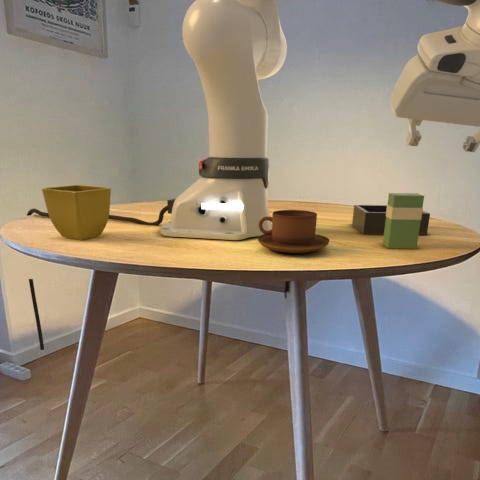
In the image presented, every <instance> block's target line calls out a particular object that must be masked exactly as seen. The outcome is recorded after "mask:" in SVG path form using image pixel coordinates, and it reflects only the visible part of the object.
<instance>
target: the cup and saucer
mask: <svg viewBox="0 0 480 480" xmlns="http://www.w3.org/2000/svg"><path fill="white" fill-rule="evenodd" d="M271 215H272V216H270V215H269V216H270V217H269V216H266V217H263V218H261V220H260V221H259V229H260V231H261V232H262V233H264V234H263V235H260V236H257V241H258V243H259V244H260V245H261V246H262V247H264V248H266V249H268V250H271V251H274V252H280V253H285V254H286V253H287V254H304V253H305V254H306V253H312V252H317V251H320V250H322V249H324V248H326V247H327V246H328V245H329V243H330V238H328V237H327V236H324V235H322V234H317V233H316V231H317V220H318V213H317V212H315V211H311V210H303V209H302V210H301V209H280V210H275V211H274V210H273V212H272V214H271ZM266 220H269V221H271V226H272V229H271V230H268V231H266V230H264V229H263V227H262V224H263V222H264V221H266Z"/></svg>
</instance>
